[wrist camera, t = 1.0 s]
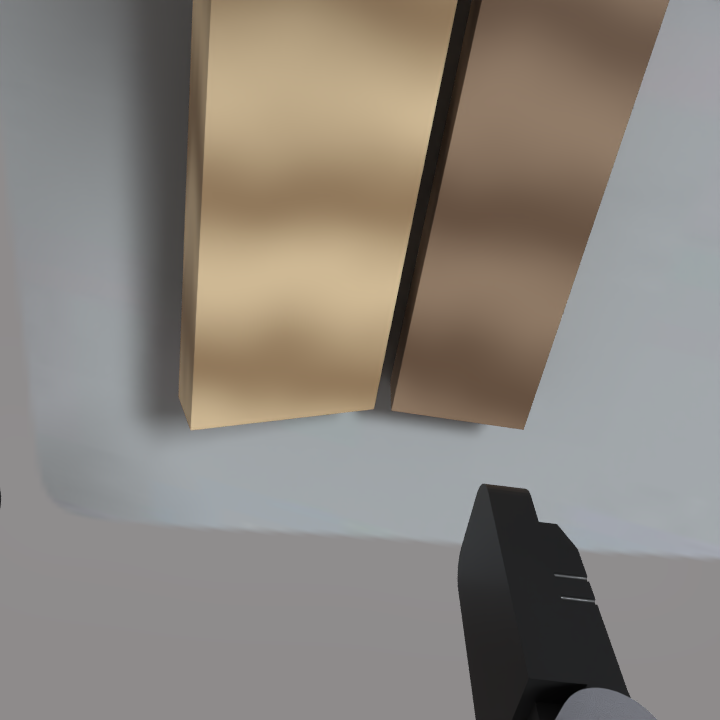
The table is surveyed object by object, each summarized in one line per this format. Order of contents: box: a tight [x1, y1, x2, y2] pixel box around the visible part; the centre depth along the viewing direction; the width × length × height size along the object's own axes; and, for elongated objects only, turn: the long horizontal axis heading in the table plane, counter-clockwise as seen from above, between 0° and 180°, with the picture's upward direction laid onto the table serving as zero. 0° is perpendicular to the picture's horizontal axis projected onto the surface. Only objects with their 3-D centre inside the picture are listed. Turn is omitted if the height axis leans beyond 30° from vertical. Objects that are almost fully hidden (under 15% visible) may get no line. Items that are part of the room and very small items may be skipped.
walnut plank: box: [390, 0, 669, 430], centre depth 27 cm, size 20×6×2 cm, turn 171°
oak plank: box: [178, 0, 458, 430], centre depth 24 cm, size 20×8×2 cm, turn 171°
